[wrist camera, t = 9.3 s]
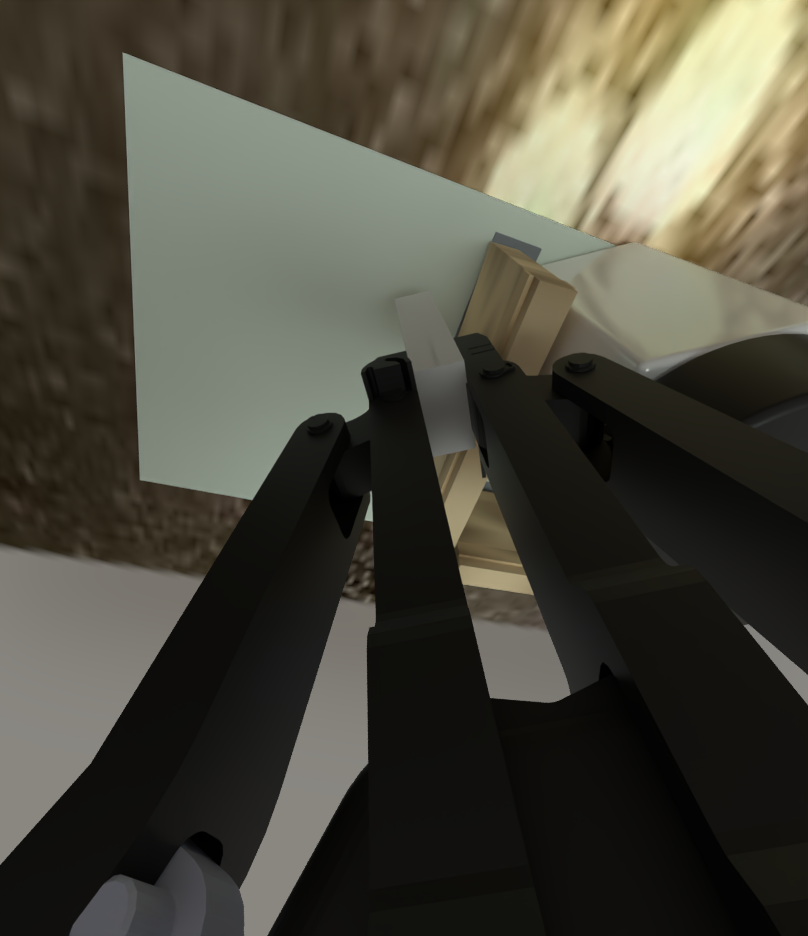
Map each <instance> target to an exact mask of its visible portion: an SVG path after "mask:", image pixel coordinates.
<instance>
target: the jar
mask: <svg viewBox="0 0 808 936" xmlns="http://www.w3.org/2000/svg"><path fill="white" fill-rule="evenodd" d="M541 266H542V267H544V268H545V269H547V270H548V271H549V272H551V273H552V274H554V275H555V276H556V277H558V278H559V279H561V280H563V281H566V282H567V283H569V284H570V285H572V286H573V287H575V288H576V289H575V290H576V291H578V293H577V295H576V297H575V299H574V301H573V303H572V305H571V307H570V309H569V311H568V314H567V316H566V318H565V320H564V322H563V324H562V326H561V328H560V330H559V332H558V334H557V336H556V338H555V340H554V343H553V345H552V347H551V349H550V351H549V353H548V355H547V357H546V359H545V361H544V363H543V365H542V367H541V369H540V372H539V374H538V375H552V365H553V363H554V362H555V361H556V360H558V359H560V358H562V357H564V356H568V355H571V354H573V353H578V354H579V353H583V352H585V353H588V354H596V355H600V356H603V357H605V358H607V359H609V360H612V361H614V362H616V363H618V364H620V365H622V366H624V367H626V368H628V369H631V370H633V371H635V372H637V373H639V374H641V375H643V376H645V377H647V378H650V379H652V380H654V381H656V382H658V383H660V384H662V385H664V386H666V387H669V388H671V389H673V390H675V391H677V392H679V393H681V394H683V395H685V396H688V397H690V398H692V399H694V400H696V401H698V402H700V403H702V404H704V405H707V406H709V407H711V408H713V409H715V410H717V411H719V412H721V413H724V414H726V415H728V416H730V417H732V418H734V419H736V420H738V421H740V422H743V423H745V424H747V425H749V426H751V427H753V428H755V429H757V430H759V431H762V432H764V433H766V434H768V435H770V436H772V437H774V438H776V439H778V440H781V441H783V442H785V443H787V444H789V445H791V446H793V447H795V448H797V449H800V450H802V451H804V452H806V453H808V306H806V305H803V304H801V303H798V302H795V301H793V300H790V299H787V298H785V297H782V296H779V295H777V294H774V293H771V292H769V291H766V290H763V289H761V288H758V287H755V286H753V285H750V284H747V283H745V282H742V281H739V280H737V279H734V278H731V277H729V276H726V275H723V274H721V273H718V272H715V271H713V270H710V269H707V268H705V267H702V266H699V265H697V264H694V263H691V262H689V261H686V260H683V259H681V258H678V257H675V256H673V255H670V254H667V253H665V252H662V251H659V250H657V249H654V248H651V247H649V246H646V245H643V244H641V243H638V242H631V243H627V244H623V245H620V246H616V247H612V248H608V249H604V250H600V251H596V252H592V253H588V254H584V255H580V256H576V257H572V258H568V259H564V260H561V261H557V262H553V263H549V264H545V265H541ZM604 433H605V434H607V435H608V436H610V437H613V435H612V432H611V430H610V429H609V427H608V426H607V425H606V424H605V429H604ZM644 536H645V535H644ZM645 537H646V536H645ZM646 538H647V537H646ZM647 540H648V541H649V543H650V544H651V545H652V547H653V548H654V549H655V551H656V552H657V553H658V555H659V556H660V557H661V559H662V560H663V561H664V562H665V563H666V564H668V565H670V566H677V565H679V564H678V563H677V562H676V561H674V560H673V559H672V558H671V557H670V556H669V555H667V554H666V553H665V552H664V551H663V550H661V549H660V548H659V547H658V546H657V545H656V544H654V543H653V542H652V541H651V540H650V539H649V538H647ZM731 611H732V612H733V613H734V614H735V616H736V617H737V618H738V619H739V621H740V622H741V623H742V624H743V625H746V624H748V623H747V622H746V621H744V620H743V619H742V618H741V617H740V616H739V615H737V614H736V613H735V612H734V611H733V610H732V609H731Z"/></svg>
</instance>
